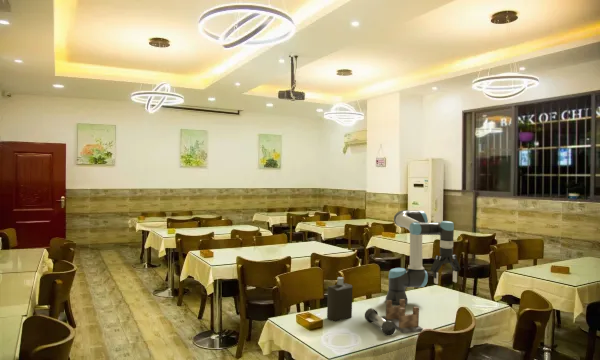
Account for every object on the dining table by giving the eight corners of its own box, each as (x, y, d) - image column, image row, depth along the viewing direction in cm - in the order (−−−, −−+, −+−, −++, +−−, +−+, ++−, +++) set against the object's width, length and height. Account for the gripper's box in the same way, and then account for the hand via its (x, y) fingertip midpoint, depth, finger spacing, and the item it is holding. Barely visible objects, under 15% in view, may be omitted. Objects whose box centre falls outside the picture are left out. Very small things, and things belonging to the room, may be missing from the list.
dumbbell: (382, 336, 234) (383, 322, 234) (364, 321, 256) (364, 308, 256) (395, 334, 236) (396, 320, 236) (376, 320, 258) (376, 307, 258)
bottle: (353, 317, 264) (354, 277, 263) (333, 322, 254) (335, 281, 254) (344, 313, 270) (345, 274, 270) (325, 318, 261) (326, 278, 260)
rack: (402, 333, 239) (403, 311, 239) (382, 318, 262) (382, 298, 262) (422, 330, 243) (423, 309, 243) (400, 316, 266) (401, 297, 266)
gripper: (432, 249, 244) (431, 285, 244) (467, 247, 252) (466, 282, 253) (425, 247, 251) (423, 282, 251) (459, 245, 259) (458, 279, 260)
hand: (445, 282), depth 252 cm, fingers open, 13 cm apart
